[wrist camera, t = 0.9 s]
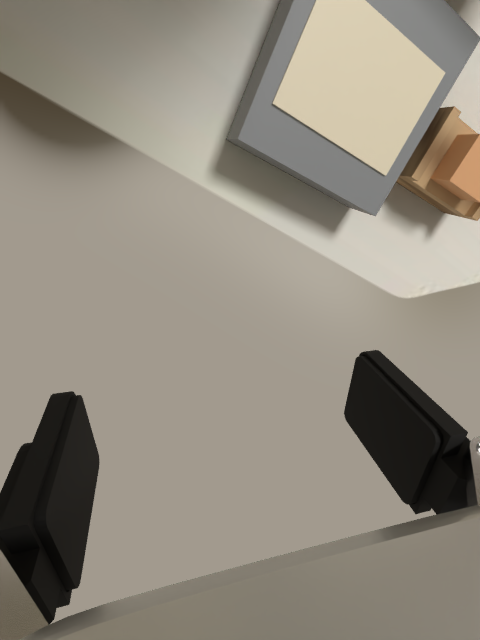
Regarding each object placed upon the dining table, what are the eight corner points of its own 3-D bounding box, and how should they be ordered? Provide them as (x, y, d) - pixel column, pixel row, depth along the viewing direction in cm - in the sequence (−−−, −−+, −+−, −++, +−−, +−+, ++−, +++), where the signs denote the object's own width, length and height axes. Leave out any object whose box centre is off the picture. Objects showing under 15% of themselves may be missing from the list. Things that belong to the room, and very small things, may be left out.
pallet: (417, 110, 34) (454, 106, 30) (478, 159, 39) (519, 161, 34) (381, 172, 37) (411, 177, 32) (443, 212, 41) (477, 220, 37)
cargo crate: (457, 134, 33) (479, 134, 30) (487, 159, 35) (510, 160, 32) (430, 178, 34) (449, 180, 32) (460, 199, 36) (481, 202, 34)
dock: (307, -69, 26) (339, -113, 21) (437, 52, 32) (482, 37, 28) (226, 139, 31) (238, 138, 27) (350, 207, 38) (376, 216, 33)
